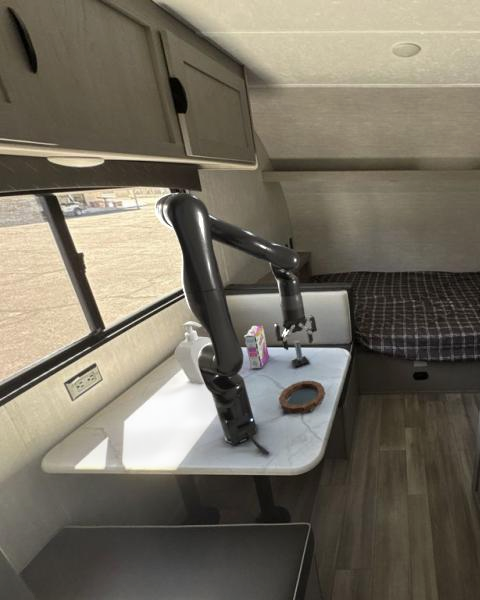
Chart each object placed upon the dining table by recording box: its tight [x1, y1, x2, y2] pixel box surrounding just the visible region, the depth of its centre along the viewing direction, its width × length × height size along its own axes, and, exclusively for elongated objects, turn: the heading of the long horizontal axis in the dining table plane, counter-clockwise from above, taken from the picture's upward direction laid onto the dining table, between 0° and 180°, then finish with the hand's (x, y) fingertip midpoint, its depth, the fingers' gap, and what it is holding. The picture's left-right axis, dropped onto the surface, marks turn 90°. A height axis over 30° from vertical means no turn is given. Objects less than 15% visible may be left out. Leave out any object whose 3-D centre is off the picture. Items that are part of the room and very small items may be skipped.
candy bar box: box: [243, 324, 269, 370], centre depth 140 cm, size 11×5×16 cm, turn 6°
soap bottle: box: [173, 320, 212, 384], centre depth 129 cm, size 12×10×26 cm
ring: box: [278, 380, 326, 414], centre depth 117 cm, size 16×16×2 cm
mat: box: [282, 388, 318, 414], centre depth 117 cm, size 14×10×1 cm
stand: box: [291, 339, 310, 369], centre depth 139 cm, size 6×6×11 cm
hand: (298, 345), depth 115 cm, fingers open, 8 cm apart
